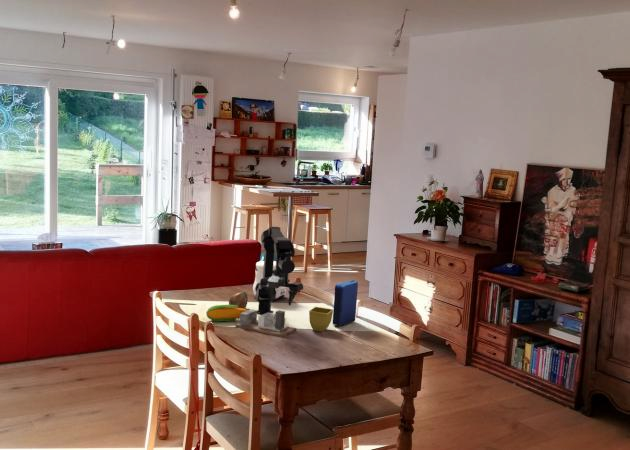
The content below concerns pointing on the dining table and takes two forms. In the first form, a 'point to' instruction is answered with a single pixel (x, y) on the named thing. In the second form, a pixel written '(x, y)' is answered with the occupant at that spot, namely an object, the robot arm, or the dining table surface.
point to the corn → (224, 312)
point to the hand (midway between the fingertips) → (280, 303)
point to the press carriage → (267, 321)
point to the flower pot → (320, 318)
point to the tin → (239, 300)
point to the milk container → (259, 275)
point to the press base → (251, 323)
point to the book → (345, 303)
